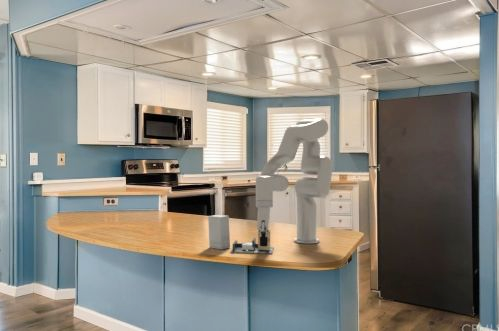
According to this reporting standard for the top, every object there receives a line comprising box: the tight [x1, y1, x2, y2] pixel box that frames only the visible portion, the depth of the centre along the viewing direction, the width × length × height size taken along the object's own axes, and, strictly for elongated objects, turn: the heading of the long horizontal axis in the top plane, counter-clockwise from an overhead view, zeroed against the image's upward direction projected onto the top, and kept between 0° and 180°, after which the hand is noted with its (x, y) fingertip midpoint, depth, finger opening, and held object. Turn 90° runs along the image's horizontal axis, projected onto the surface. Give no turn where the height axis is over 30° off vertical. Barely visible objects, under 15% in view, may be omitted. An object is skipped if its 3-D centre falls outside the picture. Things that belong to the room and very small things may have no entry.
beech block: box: [257, 229, 271, 250], centre depth 189 cm, size 5×5×8 cm
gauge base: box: [230, 240, 275, 255], centre depth 190 cm, size 12×18×4 cm, turn 83°
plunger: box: [242, 237, 257, 251], centre depth 189 cm, size 9×6×4 cm, turn 173°
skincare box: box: [207, 214, 231, 250], centre depth 195 cm, size 8×6×15 cm
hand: (264, 244), depth 189 cm, fingers closed on beech block, 5 cm apart
